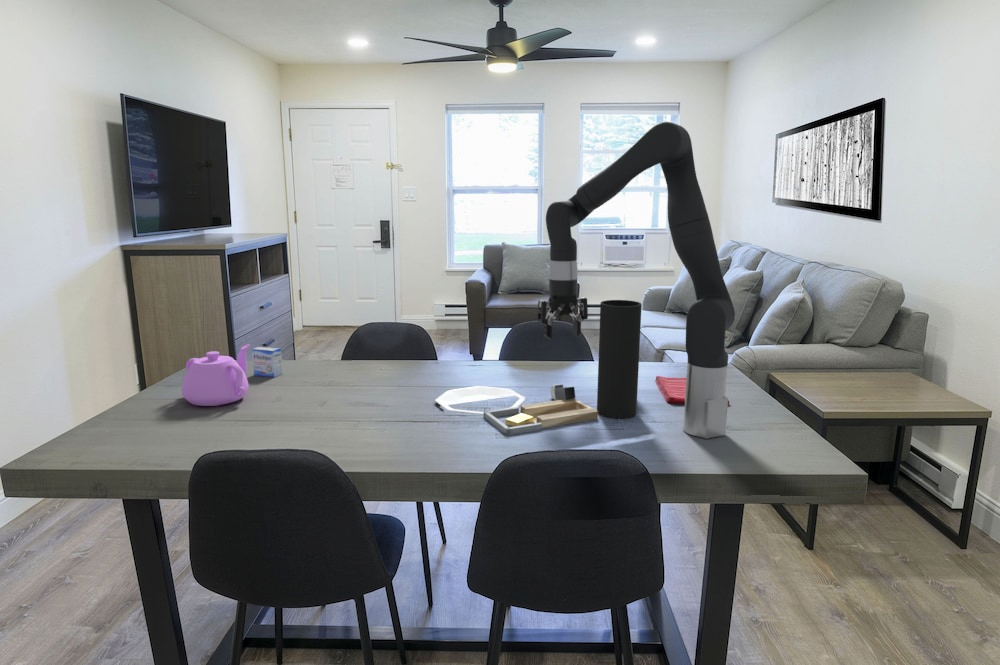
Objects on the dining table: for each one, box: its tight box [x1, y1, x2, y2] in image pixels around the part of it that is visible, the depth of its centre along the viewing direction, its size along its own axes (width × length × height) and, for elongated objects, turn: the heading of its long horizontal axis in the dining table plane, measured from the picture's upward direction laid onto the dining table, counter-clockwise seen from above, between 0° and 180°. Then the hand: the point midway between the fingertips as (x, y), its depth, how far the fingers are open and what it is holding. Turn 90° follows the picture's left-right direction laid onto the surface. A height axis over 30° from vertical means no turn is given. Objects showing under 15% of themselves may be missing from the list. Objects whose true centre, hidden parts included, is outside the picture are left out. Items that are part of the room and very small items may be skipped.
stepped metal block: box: [549, 384, 576, 401], centre depth 180 cm, size 4×3×9 cm
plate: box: [434, 385, 526, 415], centre depth 183 cm, size 24×24×2 cm
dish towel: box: [654, 375, 730, 406], centre depth 193 cm, size 17×24×3 cm
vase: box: [596, 299, 643, 420], centre depth 169 cm, size 10×10×30 cm
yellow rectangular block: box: [505, 415, 526, 427], centre depth 163 cm, size 4×3×2 cm
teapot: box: [181, 343, 251, 407], centre depth 186 cm, size 22×22×14 cm
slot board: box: [520, 397, 599, 429], centre depth 169 cm, size 12×16×3 cm
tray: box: [483, 407, 543, 436], centre depth 164 cm, size 14×10×2 cm
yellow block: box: [514, 412, 534, 425], centre depth 165 cm, size 4×3×2 cm
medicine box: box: [251, 346, 283, 378], centre depth 210 cm, size 8×4×9 cm, turn 73°
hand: (562, 336), depth 178 cm, fingers open, 8 cm apart
